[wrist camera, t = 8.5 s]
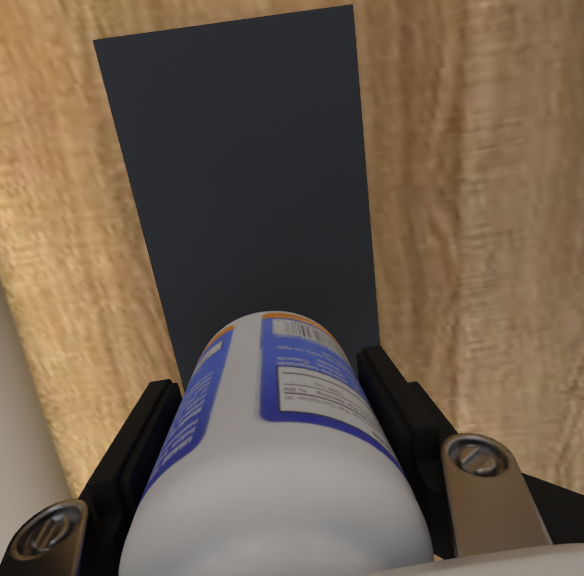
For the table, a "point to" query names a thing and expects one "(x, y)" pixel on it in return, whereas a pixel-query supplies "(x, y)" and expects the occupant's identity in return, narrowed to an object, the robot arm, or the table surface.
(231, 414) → the pill bottle
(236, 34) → the desk mat
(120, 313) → the table surface
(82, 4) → the table surface
